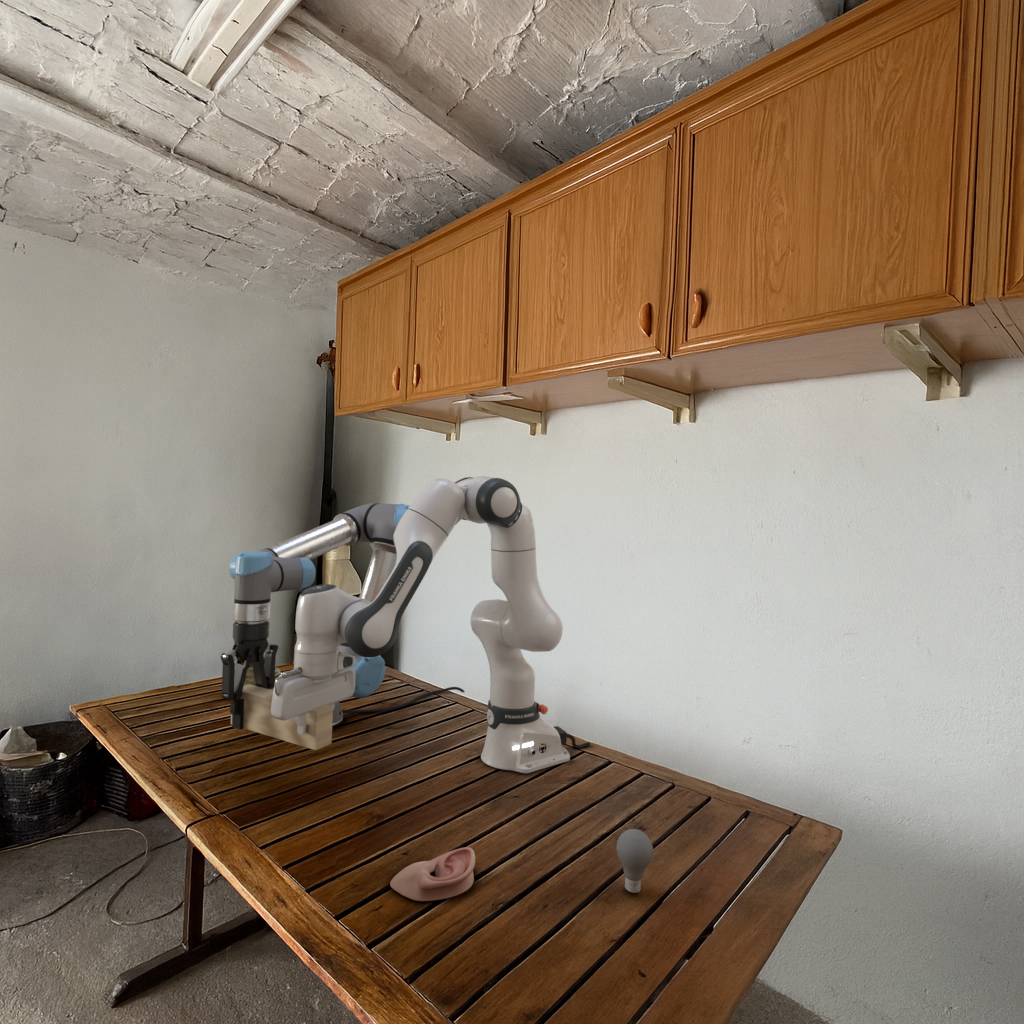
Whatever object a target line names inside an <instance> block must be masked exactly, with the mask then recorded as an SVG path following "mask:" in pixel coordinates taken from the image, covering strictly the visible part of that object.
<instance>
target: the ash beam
mask: <svg viewBox="0 0 1024 1024" xmlns="http://www.w3.org/2000/svg"><path fill="white" fill-rule="evenodd" d="M273 691H274V690H270V689H266V688H262V687H258V686H254V685H250V684H247V685H244V686H243V690H242V695H241V699H244V713H243V729H245V730H248V731H250V732H255V733H257V734H260V735H264V736H268V737H271V738H273V739H278V740H281V741H284V742H288V743H290V744H294V745H297V746H300V747H303V748H307V749H309V750H313V751H318V750H320V749H322V748H325V747H327V746H329V745H331V744H332V742H333V729H332V719H333V706H332V705H326V706H323V707H320V708H317V709H314V710H312V711H310V712H307V713H306V717H305V718H303V719H304V722H305V724H309V732H308V733H305V734H303V735H301V734H298V732H297V724H296V722H295V720H294V719H293V718H291V719H288V720H285V721H283V720H279V719H276V718H274V717H273V716H272V715H271V703H272V696H273ZM230 725H232V714H231V713H230Z"/></svg>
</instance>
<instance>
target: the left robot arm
mask: <svg viewBox="0 0 1024 1024" xmlns="http://www.w3.org/2000/svg"><path fill="white" fill-rule="evenodd" d="M410 505H411V504H410ZM410 505H409V504H404V503H399V504H398V503H381V502H371V503H370V502H369V503H365V504H362V505H359V506H356V507H354V508H351V509H348V510H346V511H343V512H341V513H339V514H336V515H335V516H334V517H333V520H331V521H328V522H326V523H324V524H322V525H320V526H316V527H314V528H312V529H309V530H307V531H305V532H302V533H300V534H298V535H295V536H293V537H292V536H291V537H289V538H287V539H284V540H283V541H281V542H278V543H276V544H273V545H270V546H268V547H265V548H264V549H261V550H255V551H254V550H253V551H250V550H249V551H240V552H239V553H238V554H235V556H234V557H232V559H231V561H230V563H229V569H228V570H229V575H230V577H231V578H232V579H233V580H234V589H233V590H234V591H233V592H234V594H233V595H234V596H233V597H234V598H233V613H232V614H233V615H232V619H233V620H234V622H233V624H232V639H233V645H232V647H231V650H230V651H228V652H222V653H221V654H220V660H221V664H222V673H221V675H222V678H221V698H223V699H227V700H229V701H230V702H229V707H230V708H229V714H230V715H231V714H232V724H231V728H233V729H237V730H239V731H241V730H243V729H244V728H243V713H244V699H241V695H242V690H243V686H244V682H245V677H246V673H247V669H248V668H249V667H250V663H251V664H252V666H253V672H254V678H255V683H256V686H258V687H262V688H266V689H270V688H273V687H274V683H275V665H276V659H277V658H276V656H277V652H278V650H279V645H278V644H274V643H269V641H268V638H269V636H270V622H269V621H268V620H269V619H270V617H271V616H270V615H271V614H270V613H271V595H272V593H276V592H286V591H287V592H288V591H295V590H296V591H300V590H303V589H308V588H310V587H312V585H313V584H314V582H315V579H316V573H317V571H316V567H315V564H314V563H313V561H312V560H314V559H316V558H318V557H321V556H322V555H325V554H327V553H329V552H332V551H334V550H336V549H338V548H340V547H342V546H346V547H351V546H353V545H355V544H358V543H369V546H370V547H371V549H372V554H371V557H370V561H369V564H368V567H367V571H366V574H365V577H364V581H363V583H362V586H361V590H360V594H359V597H358V598H362V599H365V600H368V601H370V602H373V601H374V600H375V598H376V597H377V596H378V594H379V592H380V591H381V589H382V587H383V586H384V584H385V582H386V581H387V579H388V577H389V576H390V574H391V572H392V571H393V569H394V567H395V564H396V560H397V552H396V547H395V545H394V539H393V535H394V532H395V529H396V527H397V525H398V523H399V521H400V519H401V518H402V516H403V515H404V513H405V512H406V510H407V509H408V508H409V506H410ZM264 652H265V655H264ZM339 652H341V653H345V654H349V655H352V656H355V658H356V662H355V665H354V666H353V667H354V669H355V691H354V693H353V695H352V696H351V697H350V698H359V699H362V698H367V697H370V696H371V695H372V694H373V693H375V692H376V691H377V690H378V689H379V688H380V686H381V685H382V683H383V681H384V679H385V675H386V671H387V668H386V667H387V666H385V665H386V662H385V659H384V658H383V657H382V655H379V656H376V657H362V656H360V655H358V654H356V653H355V652H354V651H353V650H352V649H351V648H350V646H349V645H348V643H341V644H340V645H339ZM235 656H236V659H235ZM235 660H236V661H235ZM234 661H235V663H234ZM242 663H244V664H242ZM235 667H236V668H235ZM453 690H454V691H455V690H456V691H459V692H461V693H465V692H466V691H465V690H464V689H463V688H461V687H458V686H450V687H446V688H442V689H438V690H437V689H436V690H432V691H428V692H426V693H423V694H420V695H417V696H416V697H415V698H414V697H413V698H412V699H411V700H409V701H406V702H403V703H400V704H397V705H393V706H388V707H381V708H372V709H342V706H341V702H340V701H338V702H335V708H334V710H333V719H332V730H333V729H335V728H337V727H339V726H340V725H342V723H343V722H344V714H367V713H368V714H369V713H379V712H387V711H392V710H393V711H394V710H396V709H400V708H403V707H407V706H408V705H411V704H413V703H415V702H417V701H418V700H421V699H423V698H426V697H428V696H431V695H435V694H440V693H444V692H449V691H453Z"/></svg>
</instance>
